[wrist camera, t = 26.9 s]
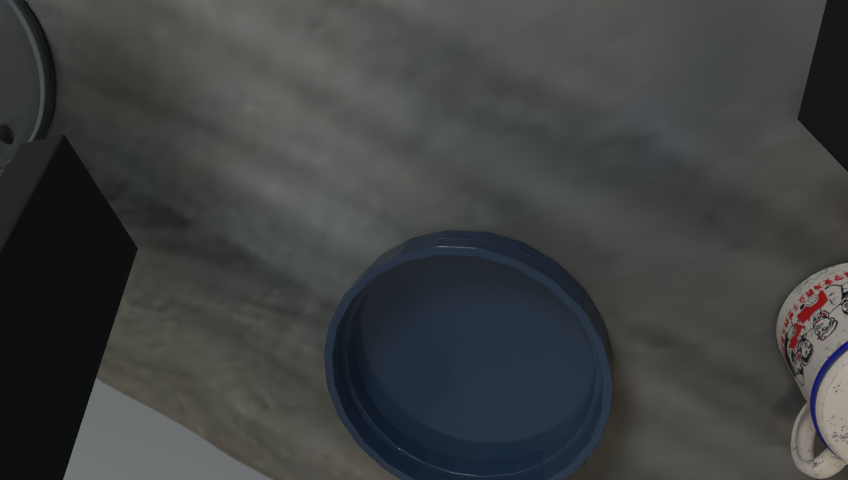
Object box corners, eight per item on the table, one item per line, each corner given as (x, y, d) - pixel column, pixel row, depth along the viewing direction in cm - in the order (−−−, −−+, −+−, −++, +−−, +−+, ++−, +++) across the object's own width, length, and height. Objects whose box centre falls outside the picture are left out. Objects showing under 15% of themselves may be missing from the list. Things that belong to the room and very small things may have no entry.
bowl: (352, 455, 53) (336, 484, 50) (330, 224, 46) (311, 240, 43) (603, 486, 48) (604, 520, 45) (618, 234, 42) (620, 253, 39)
